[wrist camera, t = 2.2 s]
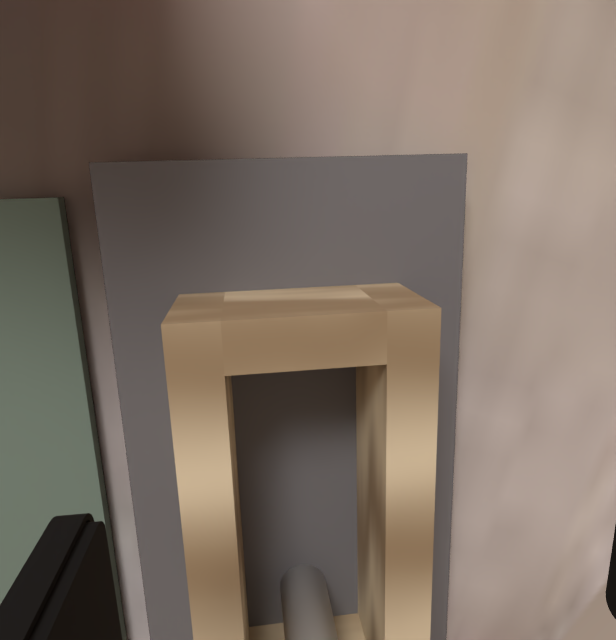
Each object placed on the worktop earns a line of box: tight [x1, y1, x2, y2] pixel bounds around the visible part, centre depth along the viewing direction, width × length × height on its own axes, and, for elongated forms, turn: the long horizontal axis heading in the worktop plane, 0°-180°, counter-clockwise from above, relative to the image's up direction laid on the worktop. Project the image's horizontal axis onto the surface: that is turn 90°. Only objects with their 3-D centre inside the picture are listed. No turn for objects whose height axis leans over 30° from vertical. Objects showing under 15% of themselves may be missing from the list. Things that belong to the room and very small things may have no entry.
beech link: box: [161, 283, 441, 640], centre depth 17 cm, size 15×7×4 cm, turn 2°
